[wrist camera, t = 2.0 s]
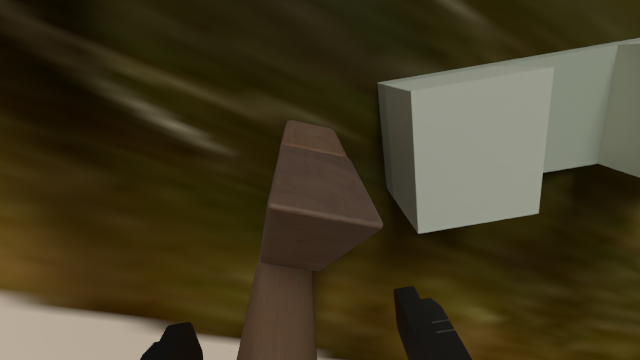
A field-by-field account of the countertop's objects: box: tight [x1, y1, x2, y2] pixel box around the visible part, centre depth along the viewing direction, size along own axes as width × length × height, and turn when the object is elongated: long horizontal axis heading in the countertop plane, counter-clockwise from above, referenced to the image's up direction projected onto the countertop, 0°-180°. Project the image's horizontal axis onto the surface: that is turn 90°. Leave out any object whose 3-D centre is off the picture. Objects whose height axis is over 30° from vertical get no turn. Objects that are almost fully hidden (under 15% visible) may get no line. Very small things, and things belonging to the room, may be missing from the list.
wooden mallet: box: [237, 120, 383, 360], centre depth 16 cm, size 4×11×18 cm, turn 167°
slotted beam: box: [377, 38, 640, 234], centre depth 20 cm, size 8×22×7 cm, turn 99°
